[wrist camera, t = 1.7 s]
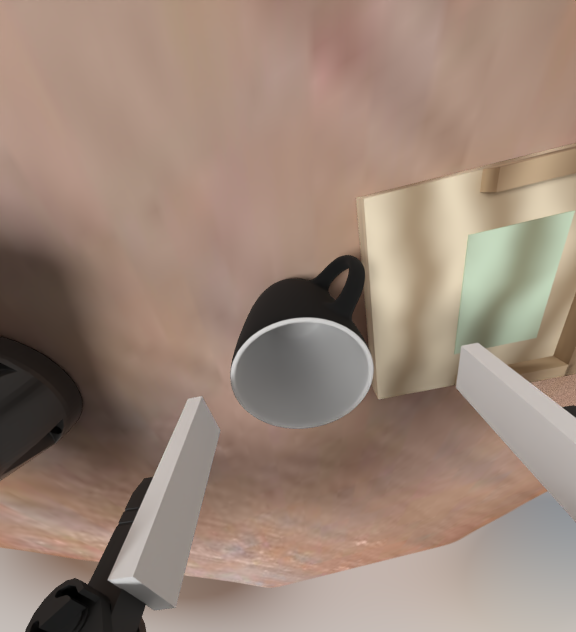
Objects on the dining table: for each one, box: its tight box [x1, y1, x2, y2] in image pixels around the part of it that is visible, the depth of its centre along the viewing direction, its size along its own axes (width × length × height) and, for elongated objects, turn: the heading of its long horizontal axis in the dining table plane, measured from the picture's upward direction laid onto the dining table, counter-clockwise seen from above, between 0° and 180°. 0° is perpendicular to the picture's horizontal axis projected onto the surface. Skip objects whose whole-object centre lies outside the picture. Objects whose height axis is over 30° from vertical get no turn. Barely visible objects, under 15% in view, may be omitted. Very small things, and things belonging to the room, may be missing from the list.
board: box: [356, 143, 576, 400], centre depth 22 cm, size 20×21×4 cm
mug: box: [230, 255, 374, 429], centre depth 19 cm, size 12×9×10 cm
